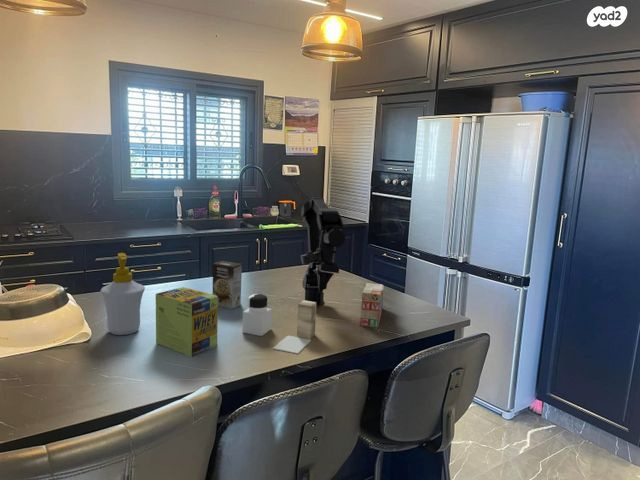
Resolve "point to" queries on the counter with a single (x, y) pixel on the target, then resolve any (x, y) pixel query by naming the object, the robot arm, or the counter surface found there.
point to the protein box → (186, 320)
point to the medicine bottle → (257, 316)
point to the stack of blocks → (371, 305)
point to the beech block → (306, 319)
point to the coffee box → (227, 283)
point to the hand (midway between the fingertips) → (320, 291)
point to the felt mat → (292, 344)
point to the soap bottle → (123, 300)
